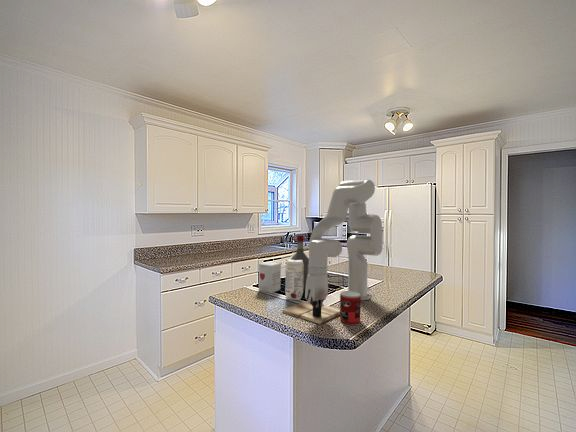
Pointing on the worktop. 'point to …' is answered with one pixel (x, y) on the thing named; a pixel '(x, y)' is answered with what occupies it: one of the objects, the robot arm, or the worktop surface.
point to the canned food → (350, 307)
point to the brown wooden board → (299, 309)
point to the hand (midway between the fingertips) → (316, 316)
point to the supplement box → (269, 277)
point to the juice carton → (294, 279)
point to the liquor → (302, 258)
